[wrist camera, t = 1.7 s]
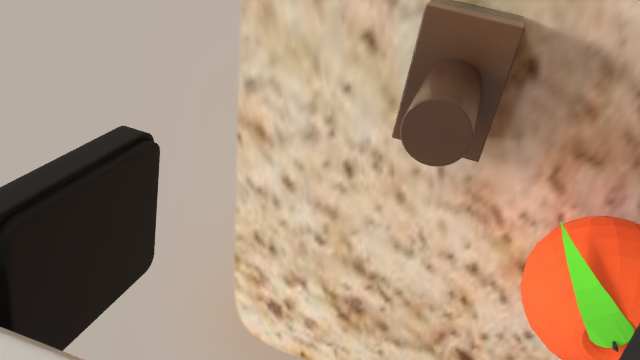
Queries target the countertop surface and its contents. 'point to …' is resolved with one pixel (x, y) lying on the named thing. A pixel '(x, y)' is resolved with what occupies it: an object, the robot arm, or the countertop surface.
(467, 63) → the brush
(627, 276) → the clementine
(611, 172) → the countertop surface
